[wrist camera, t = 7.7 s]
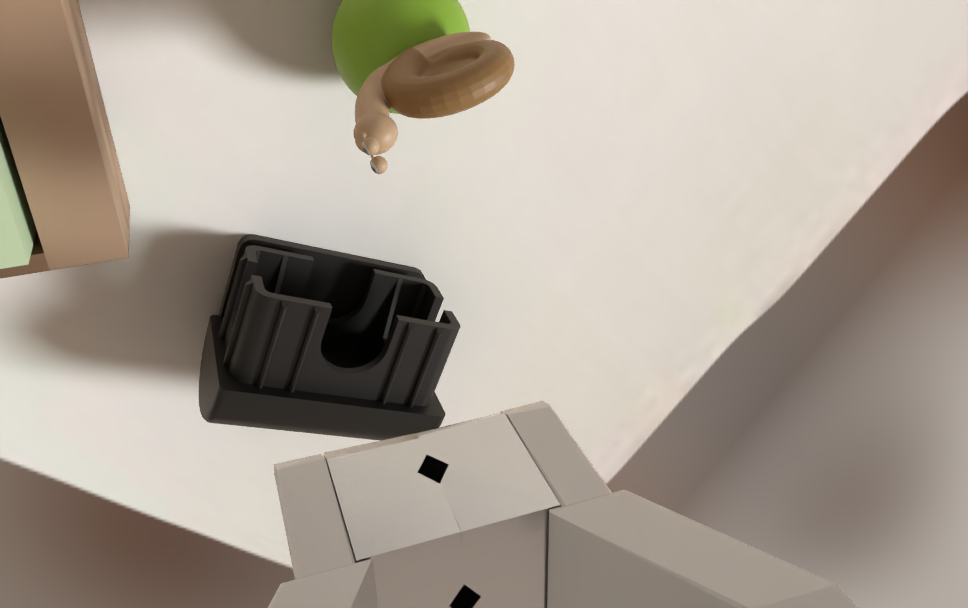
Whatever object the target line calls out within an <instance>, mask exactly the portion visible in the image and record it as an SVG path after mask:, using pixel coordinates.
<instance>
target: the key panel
mask: <svg viewBox="0 0 968 608" xmlns="http://www.w3.org/2000/svg"><path fill="white" fill-rule="evenodd" d="M0 116H1V119H2V122H3V125H4V129H5V132H6V135H7V138H8V141H9V144H10V147H11V151H12V154H13V157H14V160H15V163H16V166H17V169H18V173H19V176H20V179H21V182H22V185H23V188H24V191H25V194H26V198H27V201H28V204H29V207H30V210H31V213H32V216H33V220H34V223H35V226H36V229H37V231H36V235H35V239H34V244H33V248H32V252H31V256H30V260H29V264H28V265H22V266H16V267H10V268H3V269H0V278H6V277H12V276H18V275H24V274H31V273H37V272H43V271H49V270H55V269H61V268H68V267H74V266H80V265H86V264H92V263H99V262H105V261H111V260H117V259H123V258H129V219H130V205H129V201H128V197H127V193H126V189H125V185H124V181H123V178H122V174H121V170H120V166H119V162H118V158H117V154H116V150H115V146H114V142H113V138H112V134H111V130H110V126H109V122H108V118H107V115H106V111H105V107H104V103H103V99H102V95H101V91H100V87H99V83H98V79H97V75H96V71H95V67H94V63H93V59H92V55H91V52H90V48H89V44H88V40H87V36H86V32H85V28H84V24H83V20H82V16H81V12H80V8H79V4H78V0H0Z"/></svg>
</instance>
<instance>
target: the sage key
mask: <svg viewBox="0 0 968 608" xmlns="http://www.w3.org/2000/svg"><path fill="white" fill-rule="evenodd" d="M36 231H37V229H36V226H35V223H34V220H33V216H32V213H31V210H30V207H29V204H28V201H27V198H26V194H25V191H24V188H23V185H22V182H21V179H20V176H19V173H18V169H17V166H16V163H15V160H14V157H13V154H12V151H11V147H10V144H9V141H8V138H7V135H6V132H5V129H4V125H3V122H2V119H1V116H0V269H3V268H10V267H16V266H22V265H28V264H29V260H30V256H31V252H32V248H33V244H34V239H35V235H36Z"/></svg>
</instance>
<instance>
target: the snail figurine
mask: <svg viewBox="0 0 968 608" xmlns="http://www.w3.org/2000/svg"><path fill="white" fill-rule="evenodd" d="M331 42H332V52H333V57H334V61H335V64H336V67H337V69H338V71H339V73H340V75H341V77H342V79H343V80H344V82H345V83H346V85H347V86H348V87H349V88H350V90H351V91H352V92H353V93H354V94H355V95H356V96H357V99H356V105H355V121H356V126H355V128H354V138H355V142H356V145H357V147H358V148H359V149H360V150H361V151H363V152H364V153H366V154H368V155H371V158H372V160H371V162H370V165H371V168H372V170H373V171H374V172H375V173H377V174H382V173H384V172H385V171H386V169H387V166H388V165H387V161H386V160H385V159H384V158H383V157H381V156H376V157H373V155H378V154H382V153H384V152H386V151H388V150H389V149H390V148H391V147H392V146H393V145H394V143H395V141H396V139H397V135H398V130H397V126H396V124H395V122H394V121H393V120H392V119H391V118H390V117H389V112H390V113H397V114H402V115H404V116H407V117H412V118H436V117H443V116H447V115H452V114H455V113H458V112H461V111H464V110H467V109H469V108H472V107H474V106H476V105H478V104H480V103H482V102H484V101H486V100H487V99H489V98H491V97H492V96H494V95H495V94H496V93H498V92H499V91H500V90H501V89H502V88H503V87H504V86H505V85H506V84H507V83H508V81H509V80H510V78H511V76H512V74H513V70H514V58H513V55H512V53H511V51H510V50H509V48H507V47H506V46H505V45H504V44H502V43H500V42H497V41H494V40H491V38H490V36H489V35H488V34H486V33H482V32H470V29H469V25H468V21H467V18H466V15H465V13H464V11H463V9H462V7H461V5H460V3H459V2H458V0H342V2H341V4H340V6H339V8H338V10H337V12H336V15H335V18H334V22H333V27H332V36H331Z"/></svg>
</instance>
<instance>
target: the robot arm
mask: <svg viewBox="0 0 968 608" xmlns="http://www.w3.org/2000/svg"><path fill="white" fill-rule="evenodd" d="M274 475H275V480H276V485H277V490H278V495H279V500H280V505H281V510H282V515H283V520H284V526H285V531H286V536H287V541H288V546H289V551H290V556H291V561H292V566H293V571H294V576H295V580H292V581H289V582H285V583H282V584H281V585H280V586H279V588H278V590H277V592H276V594H275V596H274V597H273V599H272V601H271V603H270V605H269V606H268V608H858V607H857V606H856V605H855V604H854V603H853V602H852V601H851V600H850V598H848V596H847V595H846V594H845V593H844V592H843V591H842V590H841V588H840V587H839V586H838V585H837V584H834V583H832V582H830V581H828V580H825V579H823V578H821V577H819V576H816V575H814V574H812V573H809V572H807V571H805V570H803V569H801V568H799V567H796V566H794V565H791V564H789V563H787V562H785V561H783V560H781V559H778V558H776V557H774V556H772V555H769V554H767V553H765V552H763V551H760V550H758V549H756V548H754V547H752V546H749V545H747V544H745V543H743V542H740V541H738V540H736V539H734V538H731V537H729V536H727V535H725V534H722V533H720V532H718V531H716V530H713V529H711V528H709V527H707V526H705V525H702V524H700V523H698V522H696V521H693V520H691V519H689V518H687V517H684V516H682V515H680V514H678V513H676V512H673V511H671V510H669V509H666V508H664V507H662V506H660V505H658V504H655V503H653V502H651V501H649V500H646V499H644V498H642V497H640V496H638V495H635V494H633V493H631V492H629V491H626V490H621V491H617V492H614V493H612V492H611V491H610V489H609V488H608V487H607V485H606V484H605V482H604V481H603V480H602V478H601V477H600V475H599V474H598V472H597V471H596V470H595V468H594V467H593V465H592V464H591V462H590V461H589V460H588V458H587V457H586V455H585V454H584V453H583V451H582V450H581V448H580V447H579V445H578V444H577V443H576V441H575V440H574V438H573V437H572V435H571V434H570V433H569V431H568V430H567V428H566V427H565V426H564V424H563V423H562V421H561V420H560V418H559V417H558V416H557V414H556V413H555V411H554V410H553V408H552V407H551V406H550V404H548V403H546V402H544V401H540V402H536V403H532V404H528V405H524V406H520V407H517V408H513V409H509V410H505V411H501V412H500V414H494V415H490V416H486V417H482V418H477V419H473V420H469V421H465V422H461V423H457V424H453V425H449V426H445V427H440V428H436V429H432V430H428V431H424V432H420V433H416V434H415V433H414V434H410V435H405V436H400V437H396V438H391V439H386V440H381V441H377V442H372V443H367V444H363V445H358V446H353V447H349V448H344V449H339V450H335V451H330V452H325V453H324V457H323V456H322V455H321V454H319V455H314V456H310V457H305V458H301V459H296V460H291V461H287V462H282V463H278V464H274Z"/></svg>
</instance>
